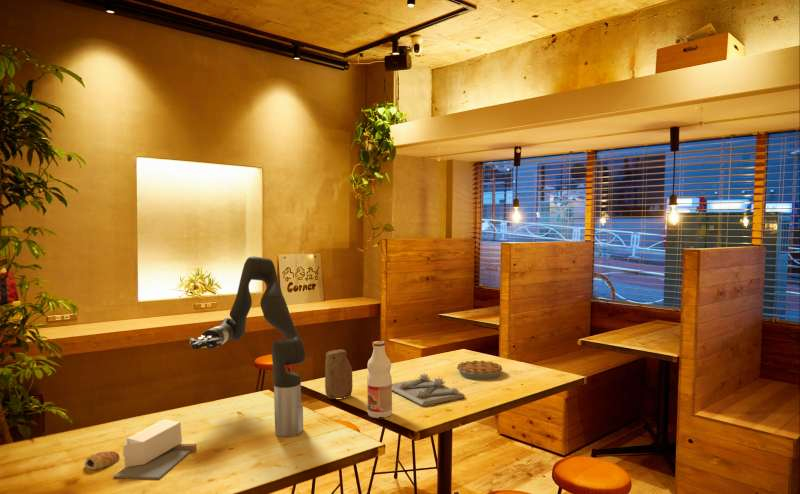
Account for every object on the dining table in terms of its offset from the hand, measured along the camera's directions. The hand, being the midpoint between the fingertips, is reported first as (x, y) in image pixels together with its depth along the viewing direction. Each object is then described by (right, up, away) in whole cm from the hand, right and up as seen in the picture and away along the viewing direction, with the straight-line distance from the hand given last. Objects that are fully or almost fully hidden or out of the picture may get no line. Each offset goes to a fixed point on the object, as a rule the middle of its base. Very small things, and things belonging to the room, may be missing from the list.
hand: (194, 346), depth 196 cm
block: (+48, -28, +36) cm, 66 cm away
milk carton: (-1, -25, -15) cm, 29 cm away
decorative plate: (+84, -28, +40) cm, 97 cm away
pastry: (-19, -32, -27) cm, 46 cm away
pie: (+112, -26, +69) cm, 134 cm away
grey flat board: (-2, -31, -27) cm, 41 cm away
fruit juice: (+66, -29, +14) cm, 73 cm away
